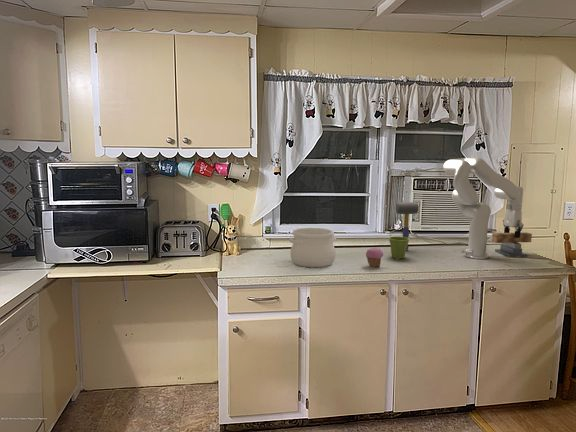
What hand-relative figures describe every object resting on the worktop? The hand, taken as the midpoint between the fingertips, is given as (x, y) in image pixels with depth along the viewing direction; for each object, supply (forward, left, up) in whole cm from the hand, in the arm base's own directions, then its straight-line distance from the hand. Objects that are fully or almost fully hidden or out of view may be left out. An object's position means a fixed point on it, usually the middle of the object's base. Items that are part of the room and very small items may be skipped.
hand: (511, 236), depth 249 cm
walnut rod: (0, 0, -3) cm, 3 cm away
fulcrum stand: (0, 0, -11) cm, 11 cm away
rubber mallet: (-59, +16, -11) cm, 62 cm away
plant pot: (-70, -1, -11) cm, 71 cm away
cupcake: (-90, -18, -11) cm, 92 cm away
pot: (-121, -8, -11) cm, 122 cm away
